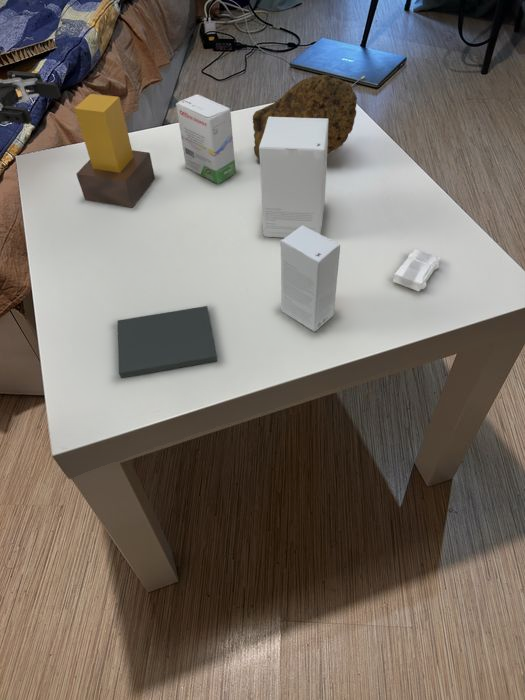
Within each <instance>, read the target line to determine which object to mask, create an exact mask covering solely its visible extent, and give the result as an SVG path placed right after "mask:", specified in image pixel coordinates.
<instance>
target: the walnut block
mask: <svg viewBox="0 0 525 700" xmlns="http://www.w3.org/2000/svg"><path fill="white" fill-rule="evenodd" d="M132 152H133V156H134V157H133V158H132V160H131V161H130V162H129V163H128V164H127V165H126V167H125V168H124V169H123V170H122V171H121V172H120V173H118V172H111V171H104V170H98V169H93V167H92V164H91V161H90V159H89V160H88V161H87V162H86V163H85V164H84V165H83V166H82V167H81V168H80V169H79V170H78V171H77V172H76V178H77V181H78V184H79V187H80V189H81V192H82V196H83V198H84V200H85V201H89V202H95V203H101V204H106V205H113V206H118V207H125V208H130V209H133V208H134V207H135V206H136V204H137V203H138V202H139V200H140V199H141V198H142V197H143V195H144V194H145V193H146V192H147V190H148V189H149V187H150V186H151V185H152V183H154V181H155V180H156V176H155V170H154V166H153V162H152V161H153V160H152V157H151V153H150V152H146V151H141V150H133V149H132Z"/></svg>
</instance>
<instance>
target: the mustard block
mask: <svg viewBox="0 0 525 700" xmlns="http://www.w3.org/2000/svg"><path fill="white" fill-rule="evenodd" d="M74 112H75V116H76V119H77V122H78V125H79V128H80V131H81V135H82V138H83V142H84V145H85V148H86V151H87V154H88V157H89V160H90V161H91V164H92V167H93V169H98V170H104V171H111V172H118V173H120V172H121V171H122V170H123V169H124V168H125V167H126V165H127V164H128V163H129V162H130V161H131V160H132V158H133V157H134V156H133V152H132V150H133V148H132V144H131V139H130V136H129V132H128V127H127V123H126V119H125V114H124V110H123V106H122V102H121V98H120V96H116V95H115V96H114V95H107V94H106V95H105V94H96V93H89V94H88V96H86V97H85V98H84V99H83V100H81V102H80V103H78V104H76V106H75V107H74Z"/></svg>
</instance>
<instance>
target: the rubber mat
mask: <svg viewBox="0 0 525 700" xmlns="http://www.w3.org/2000/svg"><path fill="white" fill-rule="evenodd" d="M117 348H118V349H117V353H118V357H117V358H118V374H119V377H120V378H121V379H122V378H129V377H134V376H139V375H145V374H150V373H151V374H152V373H157V372H162V371H169V370H174V369H179V368H186V367H191V366H192V367H193V366H197V365H203V364H209V363H214V362H218V357H217V352H216V346H215V342H214V336H213V331H212V324H211V319H210V313H209V309H208V305H205V306H197V307H191V308H186V309H179V310H174V311H167V312H160V313H154V314H150V315H142V316H137V317H136V316H135V317H130V318H125V319H117Z"/></svg>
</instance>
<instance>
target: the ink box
mask: <svg viewBox="0 0 525 700" xmlns="http://www.w3.org/2000/svg"><path fill="white" fill-rule="evenodd" d="M175 107H176V113H177V120H178V126H179V132H180V133H179V134H180V139H181V145H182V151H183V152H182V153H183V157H184V164H185V168H186V169H189V170H190V171H192V172H194V173H195V174H198V175H199V176H201V177H203V178H205V179H206V180H209V181H211V182H212V183H214V184H218V185H220V183H222V182H224V181H225V180H227V179H229V178H230V177H231V176H233V175H235V174H236V173H237V170H236V169H237V168H236V160H235V148H234V137H233V126H232V125H233V124H232V113H231V108H230V107H227V106H225V105H223V104H220V103H218V102H216V101H213V100H212V99H210V98H206V97H205V96H203V95H201V94H198V93H197V94H193V95H191V96H189V97H186V98H184V99H182V100H179V101H177V102H176V103H175Z"/></svg>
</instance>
